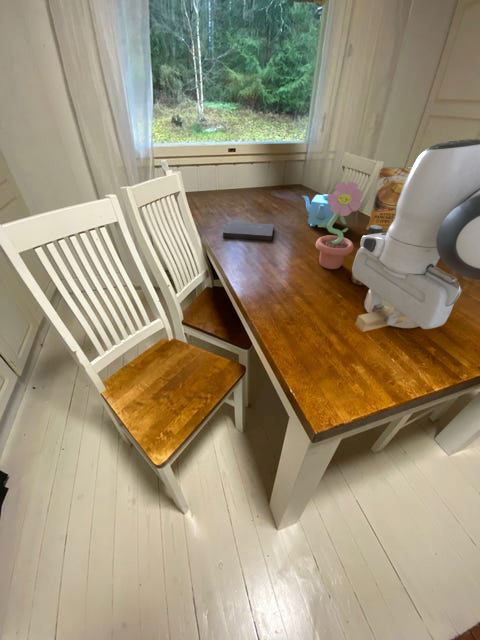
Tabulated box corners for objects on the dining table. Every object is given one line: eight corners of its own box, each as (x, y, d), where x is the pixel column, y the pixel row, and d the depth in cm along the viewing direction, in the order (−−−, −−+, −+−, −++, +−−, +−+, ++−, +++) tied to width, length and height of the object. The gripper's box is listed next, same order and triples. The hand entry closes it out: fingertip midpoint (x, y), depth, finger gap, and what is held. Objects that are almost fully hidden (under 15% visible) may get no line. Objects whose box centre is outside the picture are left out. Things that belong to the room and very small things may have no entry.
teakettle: (324, 217, 154) (330, 188, 145) (346, 228, 140) (354, 198, 131) (295, 221, 148) (299, 192, 139) (316, 233, 135) (321, 202, 125)
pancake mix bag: (360, 226, 142) (378, 166, 125) (398, 228, 141) (421, 167, 124) (363, 231, 137) (382, 168, 120) (403, 233, 136) (427, 170, 118)
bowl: (428, 307, 86) (436, 293, 83) (420, 337, 75) (428, 322, 72) (371, 290, 94) (377, 276, 91) (356, 315, 83) (362, 300, 80)
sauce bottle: (371, 286, 96) (391, 231, 84) (353, 286, 96) (370, 230, 84) (364, 277, 101) (382, 223, 89) (347, 276, 101) (363, 223, 89)
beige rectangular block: (394, 315, 58) (398, 306, 56) (402, 322, 56) (407, 313, 55) (354, 324, 55) (358, 315, 54) (362, 332, 54) (366, 322, 52)
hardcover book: (229, 225, 141) (229, 221, 140) (273, 228, 139) (273, 224, 137) (223, 237, 129) (222, 232, 128) (271, 241, 126) (271, 236, 125)
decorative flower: (304, 267, 107) (319, 184, 88) (314, 254, 116) (329, 176, 97) (343, 276, 101) (368, 190, 82) (350, 261, 111) (374, 181, 92)
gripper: (482, 279, 39) (438, 348, 48) (382, 230, 54) (362, 289, 63) (449, 286, 38) (409, 356, 46) (356, 233, 53) (339, 293, 61)
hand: (382, 317), depth 55 cm, fingers closed on beige rectangular block, 2 cm apart
